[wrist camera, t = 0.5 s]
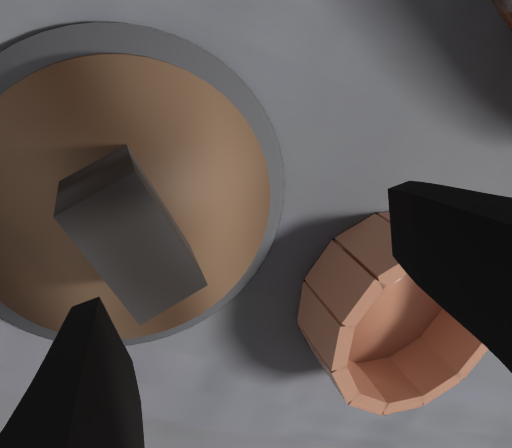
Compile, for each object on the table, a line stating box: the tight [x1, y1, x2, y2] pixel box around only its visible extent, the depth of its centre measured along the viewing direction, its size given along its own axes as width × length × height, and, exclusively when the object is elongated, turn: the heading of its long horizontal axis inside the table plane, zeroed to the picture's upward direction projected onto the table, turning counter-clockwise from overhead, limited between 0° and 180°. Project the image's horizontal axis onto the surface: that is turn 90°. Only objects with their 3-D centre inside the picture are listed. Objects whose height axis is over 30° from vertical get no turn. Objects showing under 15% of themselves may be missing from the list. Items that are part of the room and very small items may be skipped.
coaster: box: [0, 22, 285, 346], centre depth 19 cm, size 14×14×1 cm
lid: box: [0, 53, 270, 339], centre depth 17 cm, size 12×12×4 cm
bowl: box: [297, 212, 488, 415], centre depth 24 cm, size 10×10×4 cm
